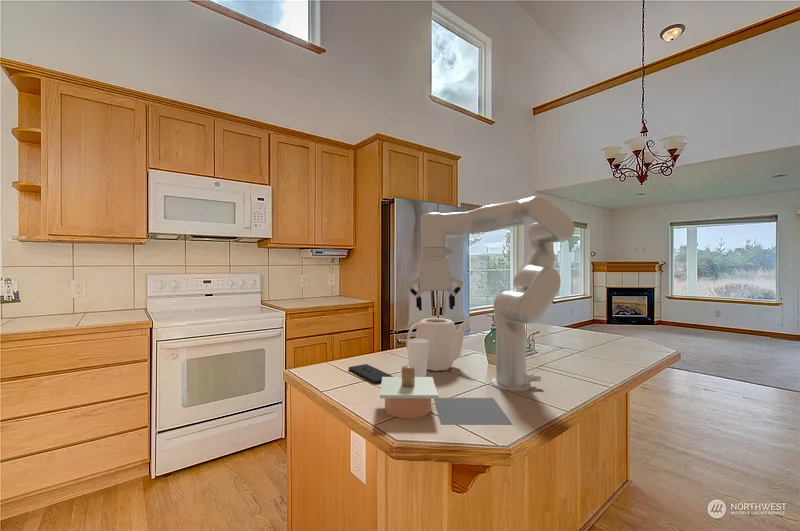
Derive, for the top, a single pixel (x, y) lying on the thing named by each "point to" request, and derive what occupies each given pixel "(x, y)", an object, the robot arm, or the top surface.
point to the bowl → (407, 407)
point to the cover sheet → (404, 392)
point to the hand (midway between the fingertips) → (435, 309)
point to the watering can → (440, 341)
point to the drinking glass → (418, 356)
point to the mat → (470, 411)
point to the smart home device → (369, 373)
